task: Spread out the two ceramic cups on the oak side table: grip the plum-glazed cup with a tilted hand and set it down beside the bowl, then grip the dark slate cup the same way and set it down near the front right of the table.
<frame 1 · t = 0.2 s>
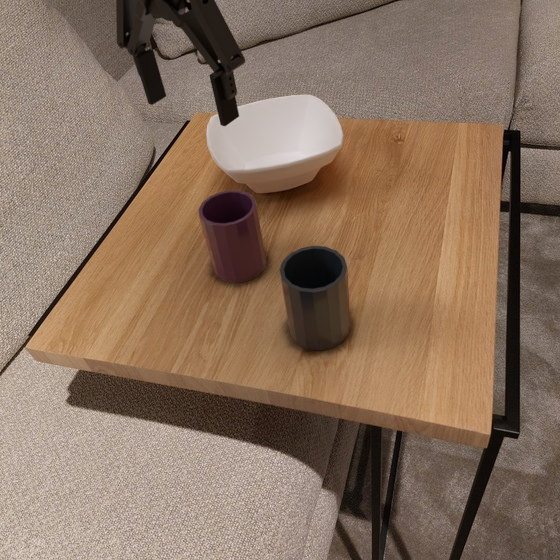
hand: (192, 110, 77), 18 cm above the table, tool pointing down, fingers open, 13 cm apart
plum cup: (240, 264, 82), on the table
slate cup: (319, 327, 72), on the table
bowl: (279, 176, 96), on the table
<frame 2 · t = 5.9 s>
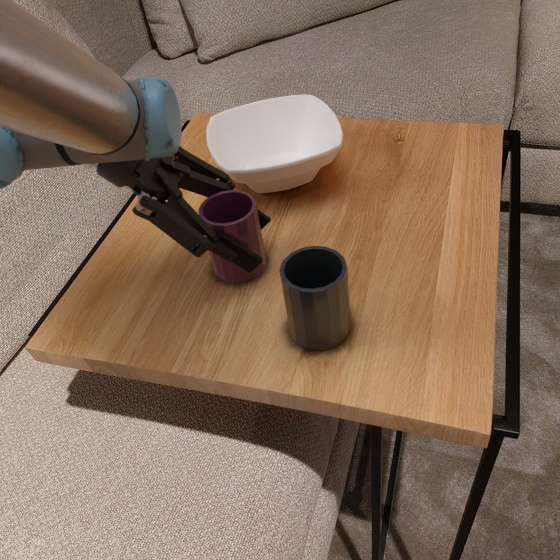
hand: (260, 244, 79), 4 cm above the table, tool tilted 45°, fingers closed on plum cup, 7 cm apart
plum cup: (240, 264, 82), on the table, touching gripper
everything else where it was.
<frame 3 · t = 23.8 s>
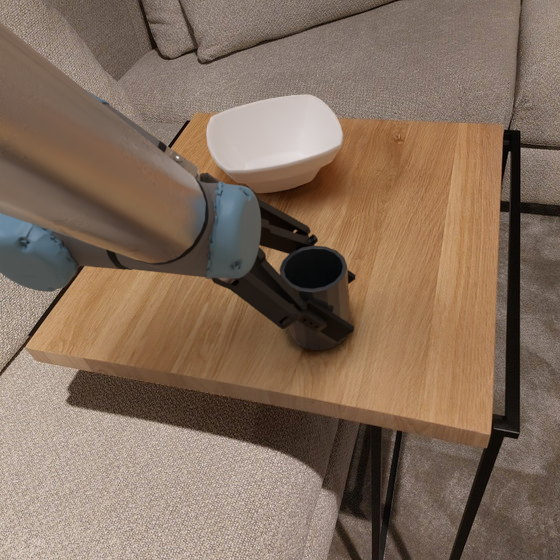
hand: (346, 307, 69), 4 cm above the table, tool tilted 45°, fingers closed on slate cup, 7 cm apart
plum cup: (188, 241, 87), on the table
slate cup: (319, 327, 72), on the table, touching gripper
everything else where it was.
when the fingers open (4 cm above the table, at t = 30.8 s): slate cup stays where it is, on the table.
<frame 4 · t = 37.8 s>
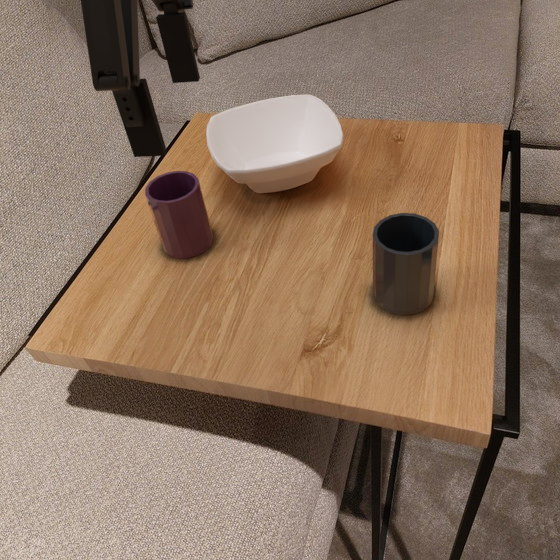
hand: (170, 114, 55), 29 cm above the table, tool pointing down, fingers open, 13 cm apart
slate cup: (403, 293, 74), on the table
everything else where it was.
at the end: plum cup inside the target area on the table beside the bowl (0.0 cm from its centre), on the table; slate cup inside the target area (0.1 cm from its centre), on the table; plum cup tilted 0° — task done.
